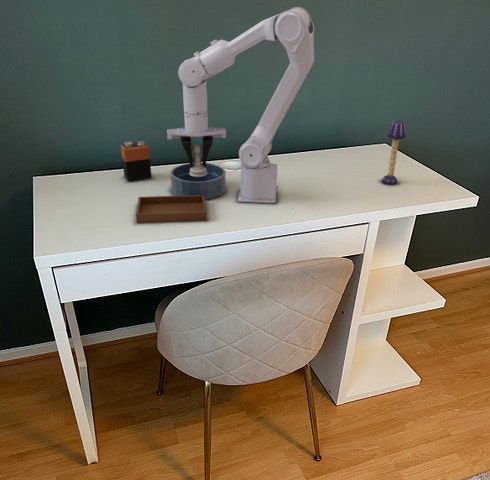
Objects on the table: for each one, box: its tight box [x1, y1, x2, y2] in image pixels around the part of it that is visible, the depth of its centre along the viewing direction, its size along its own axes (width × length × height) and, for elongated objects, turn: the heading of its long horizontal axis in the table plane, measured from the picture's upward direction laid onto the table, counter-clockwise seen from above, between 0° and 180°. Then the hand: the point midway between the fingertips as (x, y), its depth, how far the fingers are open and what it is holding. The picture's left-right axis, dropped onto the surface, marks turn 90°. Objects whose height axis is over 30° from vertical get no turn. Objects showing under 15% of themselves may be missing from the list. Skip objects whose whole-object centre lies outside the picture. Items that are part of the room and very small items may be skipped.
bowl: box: [169, 162, 227, 200], centre depth 132 cm, size 14×14×5 cm
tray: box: [135, 195, 208, 224], centre depth 121 cm, size 16×10×2 cm, turn 97°
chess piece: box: [189, 143, 207, 177], centre depth 129 cm, size 5×5×8 cm
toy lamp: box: [381, 119, 406, 186], centre depth 136 cm, size 5×5×17 cm
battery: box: [120, 140, 152, 182], centre depth 137 cm, size 4×7×10 cm, turn 115°
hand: (198, 165), depth 130 cm, fingers closed on chess piece, 3 cm apart
